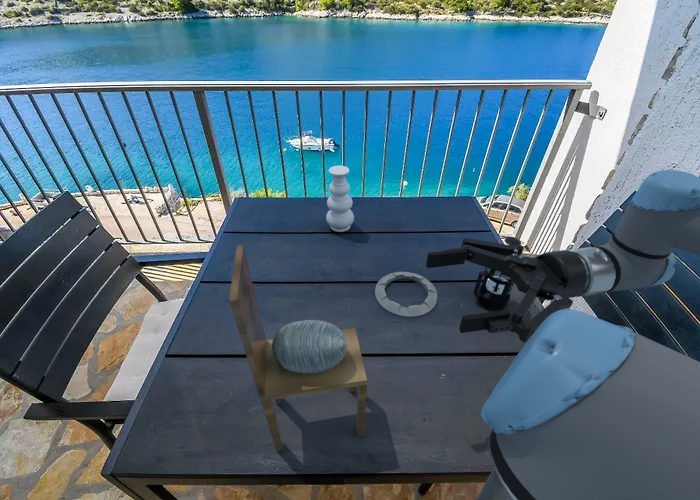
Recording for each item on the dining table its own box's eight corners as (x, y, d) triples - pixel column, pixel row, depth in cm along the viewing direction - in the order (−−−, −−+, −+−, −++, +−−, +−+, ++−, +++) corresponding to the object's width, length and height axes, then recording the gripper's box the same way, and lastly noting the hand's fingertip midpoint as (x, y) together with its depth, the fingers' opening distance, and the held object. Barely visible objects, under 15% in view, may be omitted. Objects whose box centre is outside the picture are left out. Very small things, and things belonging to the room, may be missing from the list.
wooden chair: (364, 435, 76) (372, 283, 48) (276, 451, 74) (228, 300, 45) (354, 385, 85) (356, 233, 57) (276, 397, 83) (236, 245, 54)
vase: (356, 221, 142) (357, 164, 126) (350, 237, 134) (350, 177, 118) (330, 218, 144) (328, 161, 128) (323, 233, 136) (319, 174, 120)
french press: (501, 287, 112) (523, 229, 97) (515, 309, 104) (541, 249, 90) (466, 290, 111) (483, 231, 97) (478, 313, 103) (498, 253, 89)
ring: (401, 327, 99) (402, 323, 98) (363, 287, 112) (363, 282, 111) (450, 300, 107) (451, 296, 106) (409, 265, 120) (410, 261, 119)
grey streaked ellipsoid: (267, 375, 64) (272, 370, 55) (271, 324, 68) (276, 311, 59) (339, 376, 68) (354, 371, 59) (339, 327, 72) (353, 316, 63)
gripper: (533, 211, 62) (419, 222, 60) (648, 317, 43) (488, 341, 40) (520, 244, 67) (414, 256, 64) (619, 353, 48) (474, 377, 45)
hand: (442, 289), depth 52 cm, fingers open, 13 cm apart
